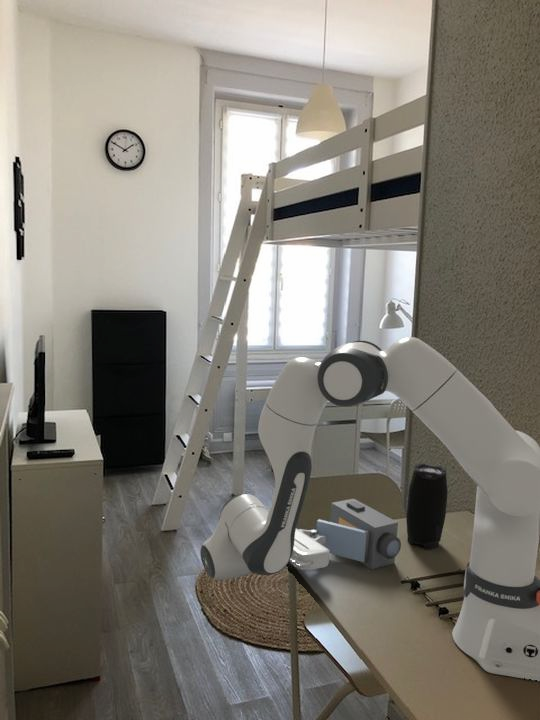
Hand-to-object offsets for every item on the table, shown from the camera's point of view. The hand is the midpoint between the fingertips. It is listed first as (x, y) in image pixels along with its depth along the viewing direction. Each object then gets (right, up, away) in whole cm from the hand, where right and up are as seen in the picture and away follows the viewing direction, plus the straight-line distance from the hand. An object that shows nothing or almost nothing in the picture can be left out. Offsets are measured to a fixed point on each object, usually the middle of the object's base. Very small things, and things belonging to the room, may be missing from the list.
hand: (320, 536), depth 142 cm
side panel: (+5, -4, 0) cm, 7 cm away
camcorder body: (+11, -6, +4) cm, 13 cm away
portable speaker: (+27, -5, +12) cm, 30 cm away
